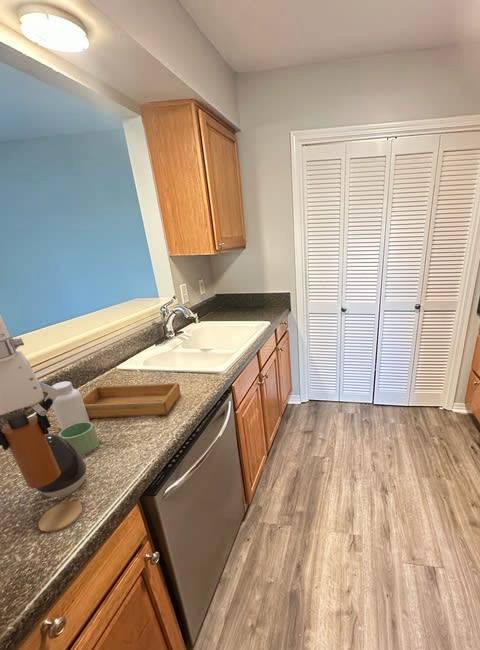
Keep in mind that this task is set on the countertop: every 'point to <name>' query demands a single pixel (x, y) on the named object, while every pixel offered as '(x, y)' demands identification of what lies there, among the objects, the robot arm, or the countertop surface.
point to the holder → (81, 436)
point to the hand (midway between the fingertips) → (26, 438)
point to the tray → (131, 400)
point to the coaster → (60, 516)
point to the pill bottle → (69, 405)
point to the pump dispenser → (64, 468)
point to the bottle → (31, 450)
